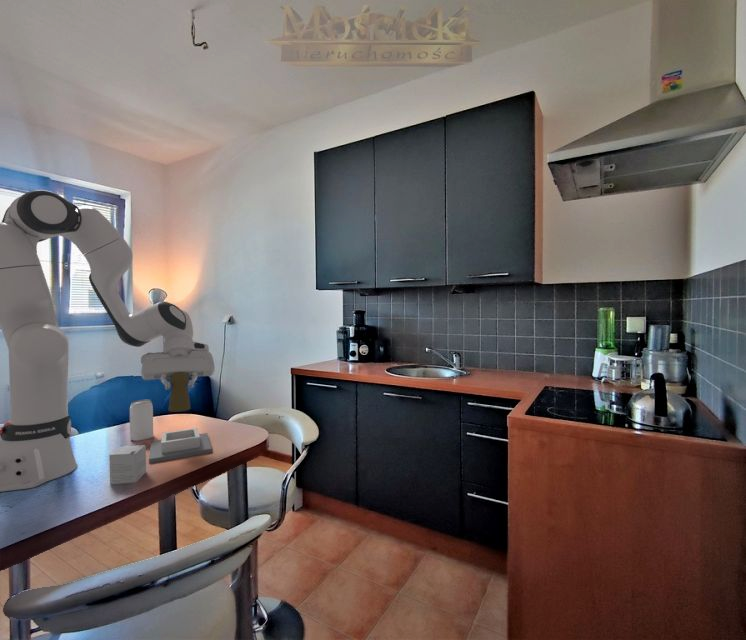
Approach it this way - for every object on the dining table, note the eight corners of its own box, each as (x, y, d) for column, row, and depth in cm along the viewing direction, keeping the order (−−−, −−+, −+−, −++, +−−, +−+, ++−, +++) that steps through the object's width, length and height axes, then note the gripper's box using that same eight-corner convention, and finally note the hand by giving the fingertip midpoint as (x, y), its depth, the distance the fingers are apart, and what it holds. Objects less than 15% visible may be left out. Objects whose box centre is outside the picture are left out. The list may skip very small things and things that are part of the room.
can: (128, 437, 125) (127, 401, 124) (150, 433, 129) (150, 398, 129) (132, 442, 120) (131, 405, 120) (155, 438, 124) (154, 401, 124)
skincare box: (121, 474, 97) (120, 445, 97) (147, 472, 99) (146, 444, 98) (109, 485, 91) (108, 454, 91) (136, 482, 93) (136, 453, 92)
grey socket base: (148, 463, 104) (148, 448, 104) (151, 444, 118) (151, 431, 118) (211, 452, 112) (211, 438, 111) (207, 436, 126) (207, 423, 125)
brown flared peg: (194, 407, 117) (194, 371, 117) (183, 412, 111) (183, 374, 111) (176, 406, 118) (176, 371, 118) (163, 411, 112) (163, 374, 112)
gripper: (140, 346, 116) (138, 384, 107) (213, 344, 125) (216, 378, 117) (141, 359, 120) (139, 396, 111) (211, 356, 129) (214, 390, 121)
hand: (179, 387), depth 114 cm, fingers closed on brown flared peg, 5 cm apart
